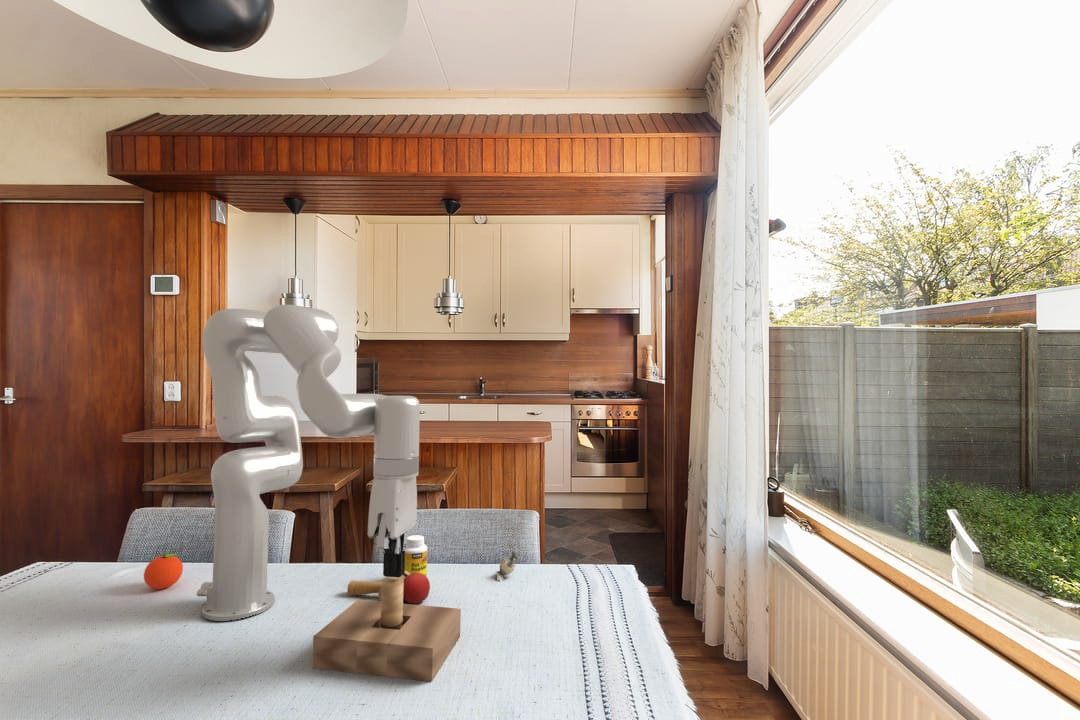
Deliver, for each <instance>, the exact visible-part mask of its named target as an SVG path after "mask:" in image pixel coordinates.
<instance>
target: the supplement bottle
mask: <svg viewBox="0 0 1080 720" xmlns="http://www.w3.org/2000/svg"><path fill="white" fill-rule="evenodd" d="M403 551H405V571H407V572H409V573H410V574H412V573H422V574H424V575H425V576H426V577H427V569H428V546H427V545H426V544H425V537H424V536H423V535H419V534H413V535H408V536H407V543H406V549H405V550H403Z"/></svg>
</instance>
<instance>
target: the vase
mask: <svg viewBox="0 0 1080 720" xmlns="http://www.w3.org/2000/svg"><path fill="white" fill-rule="evenodd" d="M520 558H521V557H520V555H519V554H518V553H517V552H515V551H512V552H511V556H510V557H507V558H504V559H502V560H501V562H500V564H499V570H496V582H503V581H504V579H505V576H507V575H510V574H511V573H513V571H514V570H515V568H516V565H515V564H516V563H515V562H516V561H517V560H520ZM498 580H499V581H498ZM500 580H502V581H500Z"/></svg>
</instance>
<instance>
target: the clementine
mask: <svg viewBox="0 0 1080 720" xmlns="http://www.w3.org/2000/svg"><path fill="white" fill-rule="evenodd" d="M176 555H177V556H178V554H177V553H169V554H163V555H160V556H156V558H153V559H152V560H151V561H150V562H149V563H148V564H147V565H146V567H145V568H144V573H143V581H144V582H145V585H147V586H148V587H149V588H151V589H154V590H164V588H165V589H167V588H168V589H169V588H170V587H172V586H173V585H175V584H176V583H177V582H178V580H180V578H181V576H182V574H183V570H184V568H183V562H182V561H181V560H180V558H182V559H183V561H185V559H184V557H183V556H182V555H181V554H179V557H180V558H178V557H177V556H176Z"/></svg>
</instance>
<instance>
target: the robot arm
mask: <svg viewBox="0 0 1080 720" xmlns="http://www.w3.org/2000/svg"><path fill="white" fill-rule="evenodd" d="M339 333H340V332H339V324H338V323H337V321H336V319H335V318H334V316H333V315H332V314H330V313H329V312H328V311H325V310H323V309H318V308H312V307H308V306H307V307H306V306H301V305H295V304H281V305H276V306H274V307H272V308H271V309H269V310H268V311H267V312H265V311H258V310H252V309H244V308H227V309H226V308H225V309H220V310H218V311H215V313H213V314H211V316H210V317H209V318H208V319H207V322H206V323H205V326H204V329H203V333H202V347H203V348H202V349H203V354H204V357H205V360H206V363H207V365H208V369H209V372H210V375H211V383H212V397H213V398H212V399H213V407H214V408H213V409H214V419H215V420H214V421H215V427H216V431H217V434H218V436H219V438H220V439H221V440H222V441H224V442H226V443H231V444H232V443H249V442H258V441H264V443H265V446H257V447H247V448H239V449H235V450H231V451H228V452H225V453H223V454H222V455H220V456H219V457H218V458H217V459H216V460H215V461H214V463H213V465H212V468H211V470H210V480H211V481H210V482H211V487H212V492H213V498H214V501H213V502H214V536H213V537H214V539H213V540H214V543H213V562H212V563H213V564H212V581H204V582H203V583H202V584H201V585H200V588H199V589H197V591H196V596H197V597H204V598H205V597H206V602H205V604H204V605H203V606H202V608H201V615H202V618H204V619H206V620H209V621H215V622H230V620H232V621H238V620H242V619H241V618H243V619H246V618H245V617H247V618H250V617H249V616H251V617H253V616H252V615H254V616H256V615H258V614H261V613H263V612H265V611H267V610H269V609H270V608H271V607H272V606H273V603H275V594H274V593H273V592H272V591H270V590H267V588H268V587H267V586H268V559H269V537H270V536H269V535H270V515H269V510H268V508H267V506H266V505H265V504H264V502H263V500H262V499H261V496H260V495H261V494H265V493H268V492H269V493H270V492H274V491H278V490H283V489H287V488H290V487H292V486H294V485H296V483H297V482H299V480H300V479H301V476H302V473H303V469H304V459H303V458H304V457H303V447H302V440H301V439H302V438H301V431H300V429H301V428H300V421H299V413H298V412H297V409H296V408H295V405H294V404H293V402H292V401H290V400H289V399H287V398H286V397H284V396H279V395H263V393H262V390H261V384H260V375H259V372H258V370H257V368H256V366H255V365H254V363H253V362H252V361H251V359H250V358H249V357H248V356H247V355H246V354H245V353H246V352H255V353H256V352H257V353H267V354H281V355H282V356H283V357H284V359H285V360H286V361H287V362H288V364H289V365H291V368H293V369H294V371H295V372H296V373H297V375H298V376H297V379H296V386H295V387H296V396H297V401H298V404H299V406H300V409H301V410H302V411H303V413H304V414H305V415H306V417H307V418H308V420H310V422H311V423H312V424H313V425H314V426H315V428H316V429H317V430H318V431H320V432H321V433H322V434H324V435H325V436H327V437H328V438H329V437H330V438H333V439H345V438H354V437H364V436H373V437H374V439H373V440H374V441H373V442H374V443H373V480H372V486H371V491H370V498H369V506H368V507H369V508H368V519H367V536H368V538H370V539H374V538H377V542H376V544H377V545H376V547H377V549H381V551H382V554H383V563H382V567H383V568H382V569H383V570H382V571H383V573H382V574H383V577H384V578H386V577H398V578H399V577H401V576H402V575H403V574H404V573H405V551H403V550H405V549H406V543H407V537H408V535H409V533H411V529H412V528H413V527H414V526H415V525H416V523H417V517H418V515H417V514H418V488H417V486H418V485H417V477H418V476H419V469H420V467H419V465H420V464H419V462H420V426H421V425H420V419H421V418H420V417H421V416H420V415H421V403H420V400H419V399H418V398H417V397H415V396H413V395H386V394H380V393H340V392H339V391H338V390H337V389H336V388H335V387H334V386H333V384H332V383H331V382H330V380H329V379H328V377H330V376H331V375H332V374H333V373H334V372H335V371H336V370H337V369H338V367H339V365H340V364H341V360H342V353H341V351H340V349H339V348H338V347H337V346H336V342H337V340H338V338H339ZM269 607H270V608H269ZM255 614H256V615H255ZM237 619H238V620H237Z"/></svg>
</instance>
